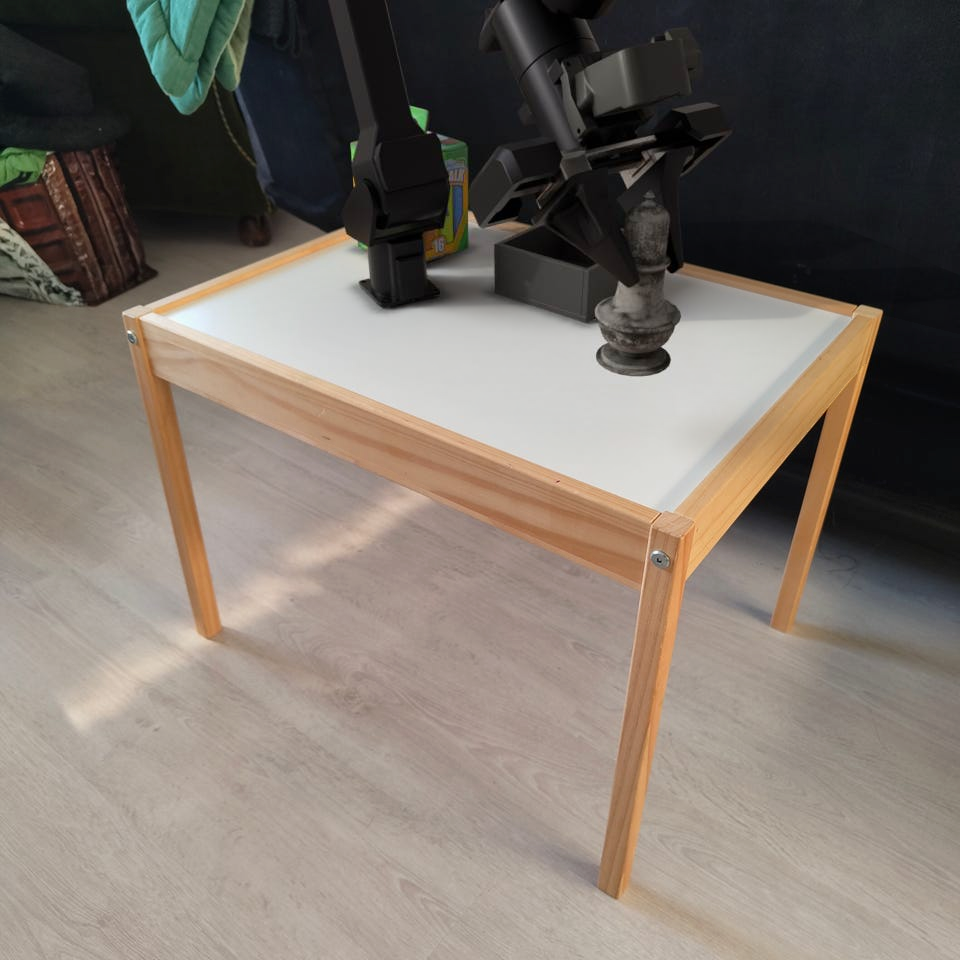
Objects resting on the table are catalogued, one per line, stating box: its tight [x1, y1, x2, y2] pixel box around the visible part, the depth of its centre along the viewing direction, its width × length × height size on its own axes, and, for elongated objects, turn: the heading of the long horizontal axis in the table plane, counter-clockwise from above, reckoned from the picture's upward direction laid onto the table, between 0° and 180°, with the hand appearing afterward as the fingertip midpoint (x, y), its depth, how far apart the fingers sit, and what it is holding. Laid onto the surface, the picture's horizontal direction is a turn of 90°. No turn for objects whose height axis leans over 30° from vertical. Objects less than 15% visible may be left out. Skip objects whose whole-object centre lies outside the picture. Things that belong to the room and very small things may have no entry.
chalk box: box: [350, 105, 470, 263], centre depth 96 cm, size 9×9×15 cm
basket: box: [493, 225, 624, 324], centre depth 89 cm, size 11×11×5 cm
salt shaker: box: [595, 190, 682, 377], centre depth 60 cm, size 6×6×12 cm
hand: (656, 277), depth 59 cm, fingers closed on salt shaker, 3 cm apart
